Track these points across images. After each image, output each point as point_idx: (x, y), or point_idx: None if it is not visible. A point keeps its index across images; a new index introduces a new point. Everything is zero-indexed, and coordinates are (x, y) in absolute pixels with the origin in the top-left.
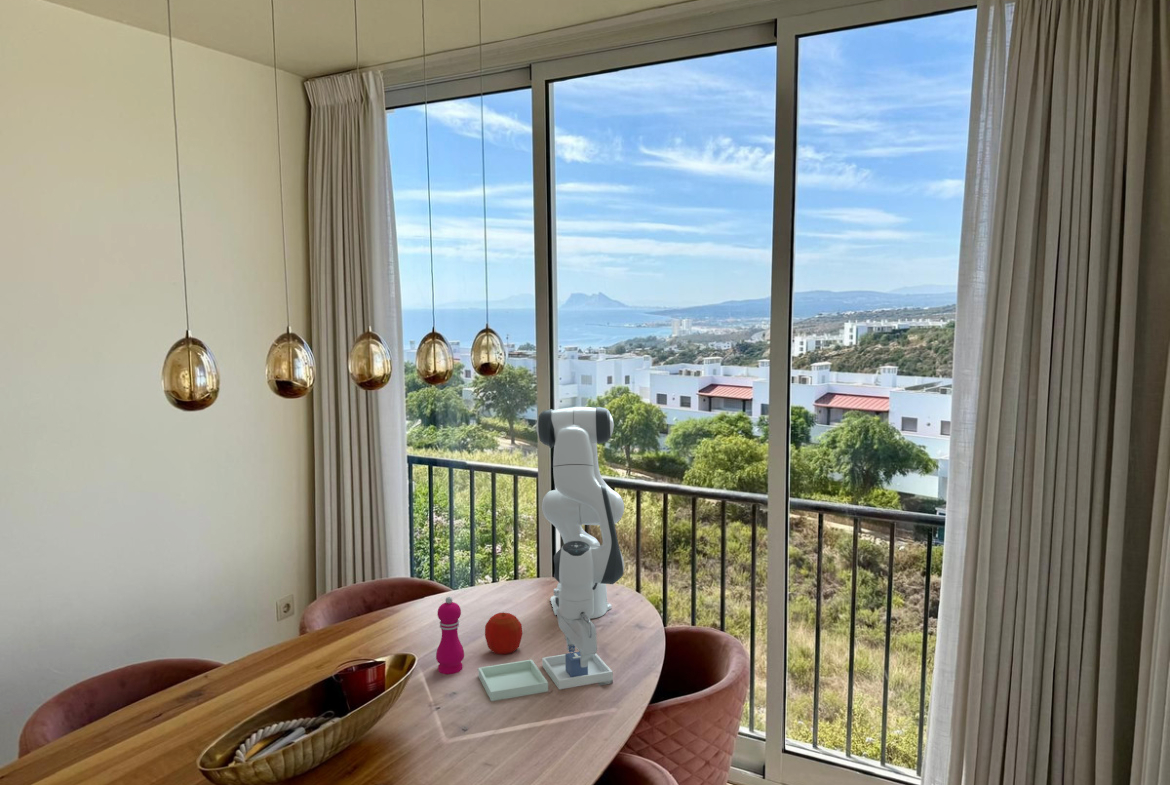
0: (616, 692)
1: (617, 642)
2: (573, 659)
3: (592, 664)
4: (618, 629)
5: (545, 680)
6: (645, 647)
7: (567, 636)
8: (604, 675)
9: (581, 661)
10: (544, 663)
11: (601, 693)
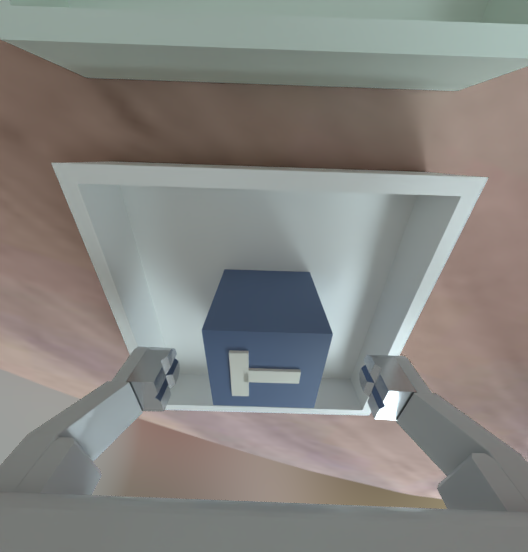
0: (103, 358)
1: (414, 443)
2: (217, 346)
3: None
4: None
5: (45, 26)
6: (343, 466)
7: (404, 546)
8: None
9: (115, 379)
10: (413, 173)
11: (97, 321)
